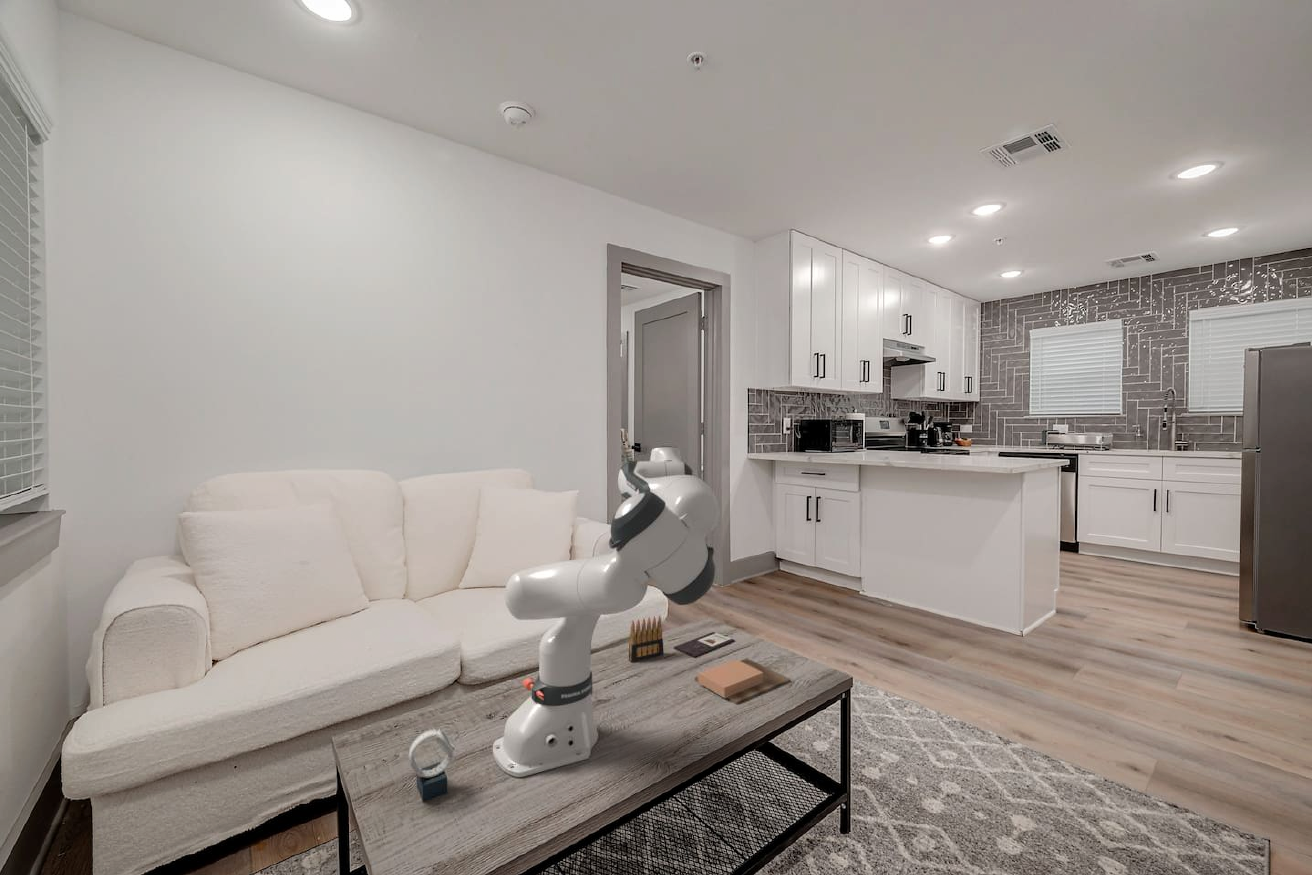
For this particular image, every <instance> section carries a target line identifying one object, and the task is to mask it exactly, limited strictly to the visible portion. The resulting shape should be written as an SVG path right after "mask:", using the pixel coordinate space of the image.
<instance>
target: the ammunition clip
mask: <svg viewBox="0 0 1312 875" xmlns="http://www.w3.org/2000/svg"><path fill="white" fill-rule="evenodd" d="M646 621H647V622H646ZM662 626H663V625H662V619H661V615H660V614H659V615H658V617H657V619H656V616H655V615H654V616H653V618H652V622H651V618H650V616H649V617H647V620H646V619H645V618H644V617H643V618H642V621H641V623H640V619H639V618H638V619H637V620H636V625H635V620H633V619H632V620H631V622H630V634H629V643H628V644H629V645H628V646H629V648H628V661H629V663H631V664H632V663H637V662H641V661H646V660H648V659H649V660H650V659H654V658H659V657H663V656H664V639H663V627H662Z"/></svg>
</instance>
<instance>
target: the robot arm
mask: <svg viewBox="0 0 1312 875" xmlns="http://www.w3.org/2000/svg"><path fill="white" fill-rule="evenodd" d="M649 458H650V459H649V460H646V461H645V460H643V461H640V460H630V459H629V460H627V461H626V462H624V464H623V465H622V466H621V467H620V468H619V472H618V476H617V477H618V478H617V486H618V490H619V493H620V495H621V496H622V498H624V499H625V500H624V501H623V503H621V505H619V507H618V508H617V510H616V512H614V515H613V516H612V520H611V523H610V539H609V541H608V545H609V548H610V549H612V550H614V549H615V548H616V549H615V550H614V551H613V552H611V553H605V554H599V555H598V554H597V555H593V556H588V557H583V558H577V559H570V560H565V561H560V562H559V561H558V562H553V563H547V564H540V565H535V566H532V567H528V568H526V569H522V570H520V571H518V572H515V573H513V574H512V575H511V576H510V577H509V578H508V581H507V582H506V586H505V588H504V602H505V606H506V608H507V610H508V612H509V613H510V614H511V615H512V617H513V618H515V619H516V620H519V621H521V620H523V621H525V620H526V621H528V620H529V621H533V620H538V621H539V620H549V619H552V620H553V619H558V620H557V622H556V623H555V624H554V625H553V626H552V627H551V628H550V629H548V630H547V631H546V632H545V633H544V635H543V636H542V638H541V639H540V643H539V647H538V654H539V655H538V665H539V666H538V668H539V669H538V672H539V674H538V675H537V678H536V680H535V682H534V681H533V680H532V679H531V678H525V679H524V681H523V682H522V685H523V686H522V687H524V689H526V691H529V692H530V691H531V695H530V696H529V697H528V698H527V699H526V700H525V701H524V702H523V703H522V704H521V705H520V706H519V707H518V708H517V709H516V710H515V711H514V712H513V713H512V714H511V715H510V716H509V717H508V718H507V719H506V722H505V726H504V731H503V736H502V737H499V738H498V739H496V740H494V742H493V745H492V756H493V759H494V761H495V763H496V765H498V766H499V768H500V770H502V771H503V772H504V773H506V774H508V775H510V776H512V777H516V778H523V777H526V776H530V775H533V774H538V773H541V772H545V771H548V770H551V769H555V768H559V767H562V766H566V765H570V764H573V763H577V762H581V761H584V760H587V759H589V758H590V756H591V753H592V749H593V747H594V746H595V744H596V743H597V742H598V739H599V732H598V729H597V725H596V721H595V717H594V711H593V709H594V708H593V702H592V695H593V688H594V687H593V671H592V670H591V652H592V651H591V650H592V639H593V635H594V631H595V628H596V626H597V623H598V621H599V619H600V618H601V615H603V616H604V615H605V616H606V615H607V616H608V615H615V614H619V613H623V612H626V611H628V610H631V609H633V608H635V607H637V606H638V605H639V604H640V603H641V602H642V601H643V600H644V598H645V596H646V594H647V591H648V586H649V580H650V581H651V582H652V583H653V584H654V585H655V586H656V587H658V588H659V590H661V591H662V594H663V595H664V596H665V597H666V598H667V599H668V600H670V601H671V602H673V603H674V604H676V605H678V606H686V605H687V606H688V605H691V604H693V603H695V602H697V601H699V600H700V599H701V598H702V597H703V596H705V595H706V594H707V593H708V592H709V591H710V590H711V588H712V586H713V584H714V581H715V572H716V567H715V566H716V565H715V561H714V559H713V556H714V554H715V549H714V547H713V546H708V544H707V543H706V537H707V535H709V534H710V533H711V532H712V531H713V530H714V528H715V527H716V526H717V524H718V521H719V517H720V507H719V503H718V499H717V497H716V495H715V493H714V490H712V488H710V486H709V485H708V484H707V483H706V482H705V481H704V480H702V479H701V478H700V477H699V476H698V477H697V476H694V475H693V469H692V468H691V467H690V465H688V464H687V463H686V462H683V461H682V455H681V450H680V448H679V447H676V446H671V445H669V446H668V445H664V446H655V447H654V448H652V449H651V453H650V457H649Z"/></svg>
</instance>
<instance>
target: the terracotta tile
mask: <svg viewBox="0 0 1312 875" xmlns="http://www.w3.org/2000/svg"><path fill="white" fill-rule="evenodd" d="M697 674H698V681H697V682H698V683H699V684H700V685H702V686H703V687H705V688H707V689H708V690H711V691H712V692H713V693H715V694H717V695H718V696H721V697H722V698H724V699H727V698H726V697H728V696H731V695H733V694H735V693H738V692H740V691H743V690H745V689H748V688H750V687H752V686H755V685H757V684H760V683H762V682H763V672H761V671H759V670H757V669H755V668H753V667H751V666H749V665H747V664H745V663H743V662H741V660H739V659H737V658H736V659H733V660H731V661H728V662H725V663H722V664H720V665H717V666H714V667H712V668H708V669H706V670H703V671H701V672H698V673H697Z"/></svg>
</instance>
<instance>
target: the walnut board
mask: <svg viewBox="0 0 1312 875" xmlns="http://www.w3.org/2000/svg"><path fill="white" fill-rule="evenodd" d="M740 661H741V662H743V663H745V664H747V665H749V666H751V667H753V668H755V669H757V670H759V671H761V672H763V682H762V683H760V684H757V685H755V686H752V687H750V688H748V689H745V690H743V691H740V692H738V693H735V694H733V695H731V696H728V697H726V698H725V699H727V700H728V701H730V702H731V703H733V704H735V705H738V704H741V703H743V702H745V701H747V700H749V699H752V698H755V697H758V696H759V695H762V694H764V693H767V692H769V691H771V690H773V689H776V688H778V687H780V686H783V685H785V684H788V683H790V682H791V678H789V677H786V676H785V675H782V674H781V673H779V672H776V671H774V670H772V669H770V668H768V667H767V666H764V665H761V664H760V663H758V662H755V661H754V660H751V659H750V658H744V659H742V660H740ZM694 680H695V681H696V682H698V676H695V677H694Z"/></svg>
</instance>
